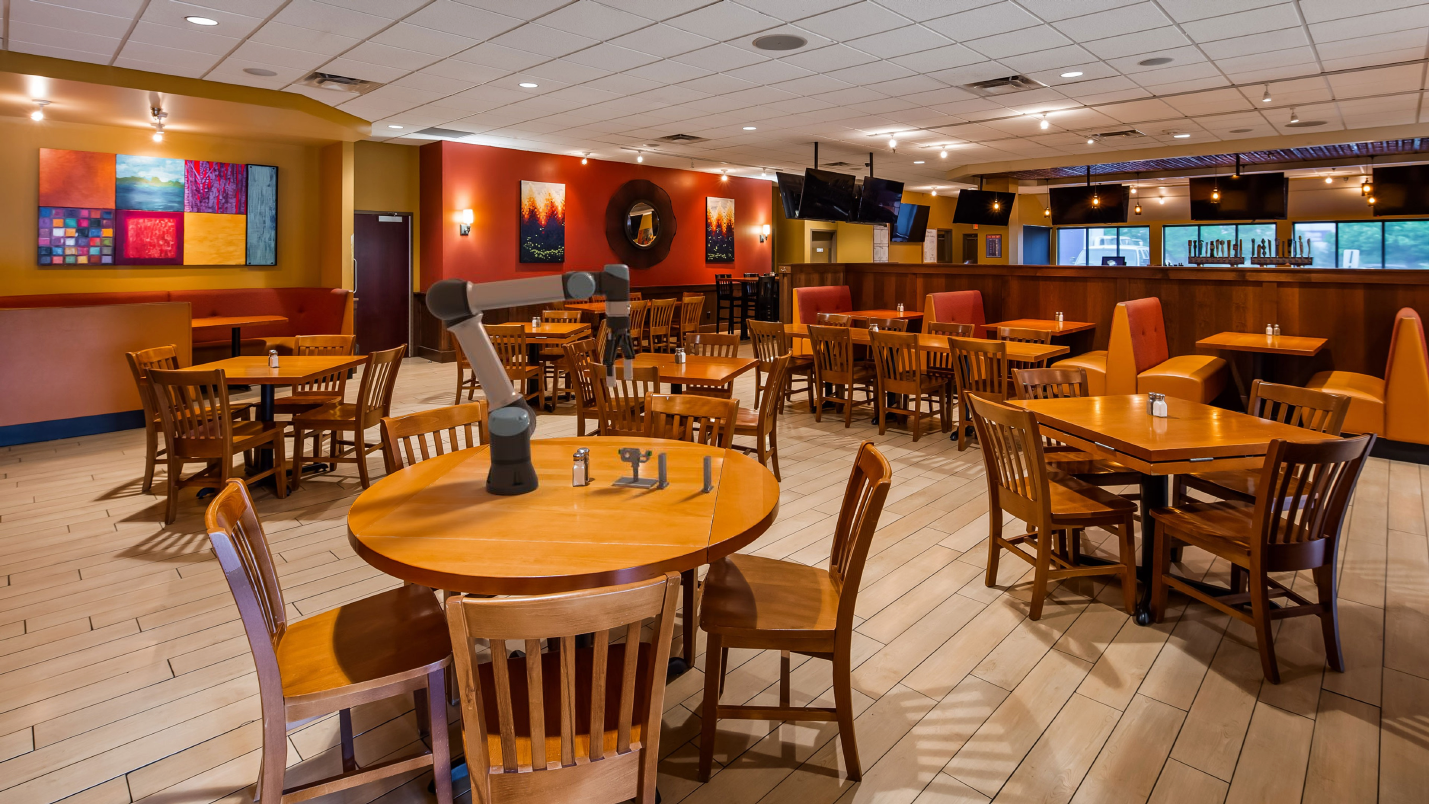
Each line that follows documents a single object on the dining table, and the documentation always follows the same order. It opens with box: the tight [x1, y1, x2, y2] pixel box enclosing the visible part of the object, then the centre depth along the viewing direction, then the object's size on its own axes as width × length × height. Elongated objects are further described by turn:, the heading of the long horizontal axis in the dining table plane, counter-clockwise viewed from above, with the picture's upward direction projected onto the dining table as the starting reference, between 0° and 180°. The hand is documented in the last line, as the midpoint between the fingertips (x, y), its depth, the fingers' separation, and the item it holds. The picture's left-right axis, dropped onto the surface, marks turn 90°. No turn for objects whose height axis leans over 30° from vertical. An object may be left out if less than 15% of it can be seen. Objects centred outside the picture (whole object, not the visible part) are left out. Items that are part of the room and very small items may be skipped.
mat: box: [612, 475, 659, 489], centre depth 236 cm, size 12×8×1 cm, turn 74°
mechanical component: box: [617, 447, 653, 482], centre depth 235 cm, size 3×10×10 cm, turn 75°
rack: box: [655, 452, 715, 493], centre depth 230 cm, size 16×5×10 cm, turn 74°
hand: (620, 383), depth 244 cm, fingers open, 13 cm apart
